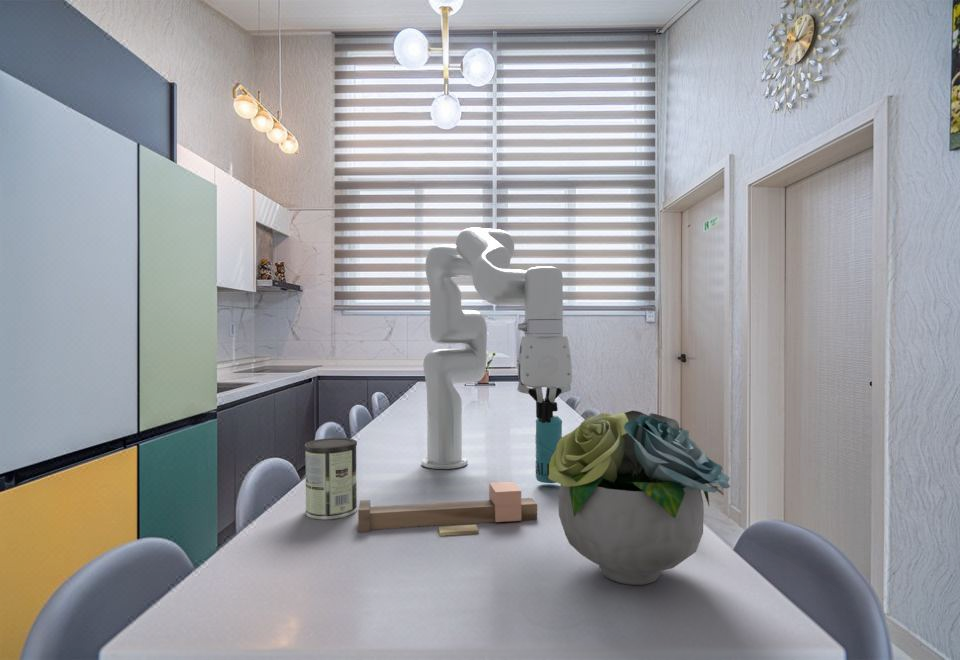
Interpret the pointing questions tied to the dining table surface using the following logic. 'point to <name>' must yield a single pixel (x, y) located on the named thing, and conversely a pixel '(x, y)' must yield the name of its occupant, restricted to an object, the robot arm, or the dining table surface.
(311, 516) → the coffee can
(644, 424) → the flower arrangement
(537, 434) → the beverage bottle
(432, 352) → the robot arm
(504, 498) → the block
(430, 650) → the dining table surface
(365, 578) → the dining table surface
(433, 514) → the beam
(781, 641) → the dining table surface
